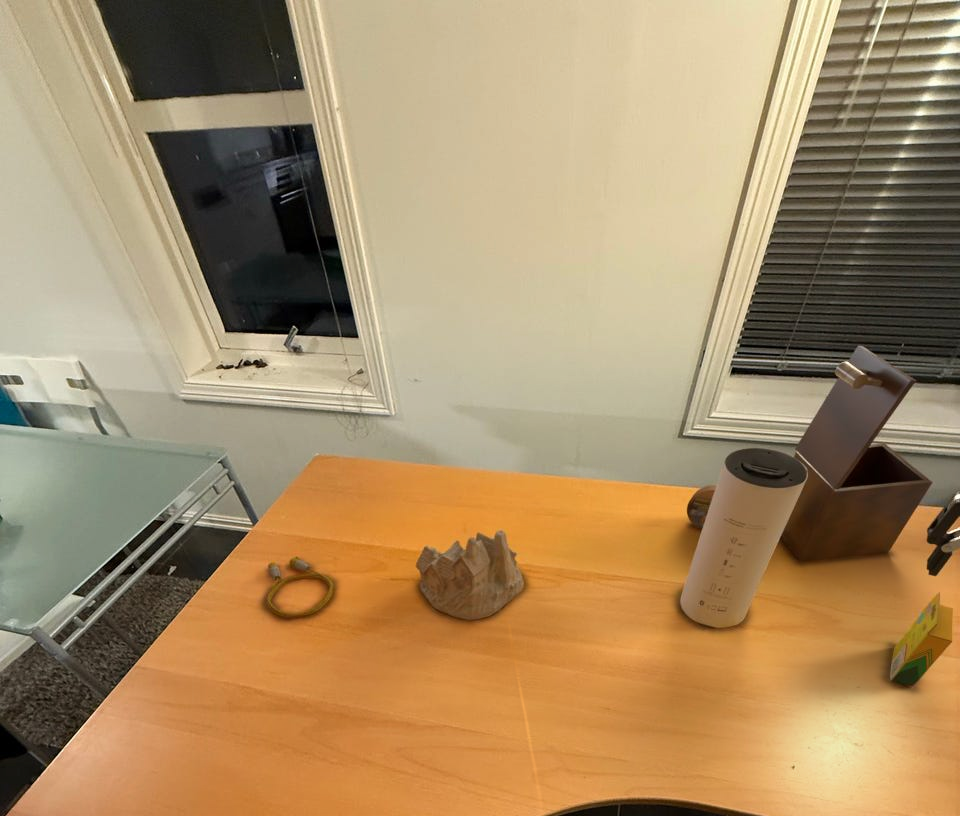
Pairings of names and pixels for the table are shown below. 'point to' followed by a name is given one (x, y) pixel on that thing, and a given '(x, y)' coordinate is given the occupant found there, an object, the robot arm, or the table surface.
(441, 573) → the ceramic cottage
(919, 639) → the crayon box
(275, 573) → the extension cord
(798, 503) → the chest
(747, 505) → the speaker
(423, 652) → the table surface
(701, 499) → the tin
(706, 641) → the table surface
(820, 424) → the lid
